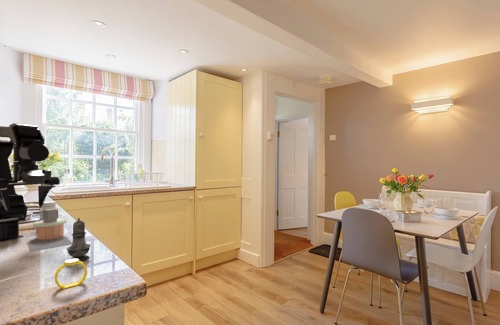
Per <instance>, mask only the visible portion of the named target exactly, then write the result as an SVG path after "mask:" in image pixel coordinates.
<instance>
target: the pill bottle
mask: <svg viewBox="0 0 500 325" xmlns="http://www.w3.org/2000/svg"><path fill="white" fill-rule="evenodd" d="M56 205H57V201H56V200H53V201H44V203H43V205H42V206H41V208H40V209H39V221H42V220H43V210H46V209H57V219H59V208H58V206H56Z"/></svg>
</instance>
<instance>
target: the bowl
mask: <svg viewBox="0 0 500 325" xmlns="http://www.w3.org/2000/svg"><path fill="white" fill-rule="evenodd" d="M64 228H65V223H64V224H61V225H57V226H50V227H35V238H36V240H41V241H44V240H52V239H58V238H62V237H64Z"/></svg>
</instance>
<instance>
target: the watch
mask: <svg viewBox="0 0 500 325" xmlns="http://www.w3.org/2000/svg"><path fill="white" fill-rule="evenodd" d="M74 265H80V266H82V267H83V268H84V273H83V275H82V277H81V278H80V279H79V281H77V282H73V283H69V284H65V285H64V284H62V283H60V282H59V280H58V276H59V273H60V272H61V270H62V269H64V268H66V267H67V266H69V267H70V266H74ZM87 276H88V267H87V266H86V265H85V263H84V261H83V262H81V261H79V259H76V258H74V259H70V258H69V259H65V260H64V262H63V264H61V265H59V266H58V268H57V270H56V271H55V273H54V283H55V284H56V286H57V287H58V288H60V289H62V290H66V289H69V288H73V287H77V286H80V285H81V284H83V282H85V280H86V279H87Z"/></svg>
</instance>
